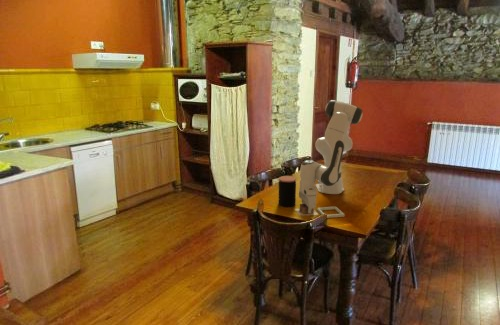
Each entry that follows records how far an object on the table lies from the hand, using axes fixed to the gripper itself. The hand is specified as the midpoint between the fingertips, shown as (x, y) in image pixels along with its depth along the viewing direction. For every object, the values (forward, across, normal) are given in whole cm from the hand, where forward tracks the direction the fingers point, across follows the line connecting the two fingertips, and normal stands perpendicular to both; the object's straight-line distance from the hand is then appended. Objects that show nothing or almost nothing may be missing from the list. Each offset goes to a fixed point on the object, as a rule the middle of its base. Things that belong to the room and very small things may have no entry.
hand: (306, 209), depth 209 cm
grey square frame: (+2, +5, +13) cm, 14 cm away
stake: (+2, 0, 0) cm, 2 cm away
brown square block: (+1, 0, 0) cm, 1 cm away
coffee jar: (+2, -14, -8) cm, 16 cm away
